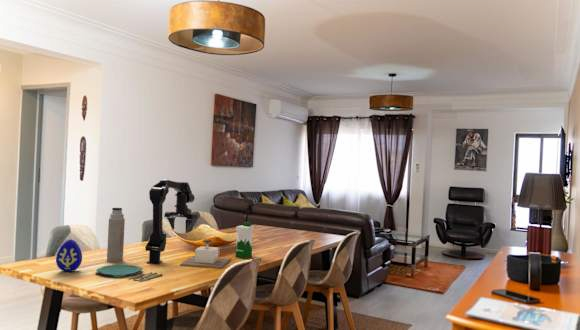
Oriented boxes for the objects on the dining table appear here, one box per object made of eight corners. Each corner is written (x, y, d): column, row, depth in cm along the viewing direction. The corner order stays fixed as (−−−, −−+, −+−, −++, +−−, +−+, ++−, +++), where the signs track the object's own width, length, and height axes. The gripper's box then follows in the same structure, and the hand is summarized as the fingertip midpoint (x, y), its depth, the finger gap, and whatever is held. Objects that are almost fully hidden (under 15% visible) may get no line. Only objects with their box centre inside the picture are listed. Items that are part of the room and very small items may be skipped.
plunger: (209, 254, 251) (210, 240, 251) (201, 254, 251) (202, 240, 251) (212, 253, 256) (212, 239, 256) (203, 252, 256) (204, 239, 256)
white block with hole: (213, 263, 248) (213, 250, 248) (194, 262, 249) (195, 249, 249) (217, 259, 258) (218, 247, 258) (200, 258, 259) (200, 246, 259)
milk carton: (253, 256, 276) (255, 222, 276) (245, 259, 268) (247, 224, 268) (241, 254, 280) (243, 221, 280) (232, 257, 272) (234, 222, 272)
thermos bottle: (125, 259, 251) (128, 207, 251) (117, 262, 243) (120, 209, 243) (112, 258, 253) (114, 206, 253) (103, 261, 245) (106, 208, 245)
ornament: (53, 273, 215) (55, 241, 215) (58, 269, 224) (59, 237, 224) (79, 273, 218) (81, 241, 218) (83, 268, 227) (84, 237, 227)
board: (221, 268, 241) (221, 266, 241) (180, 265, 244) (180, 263, 244) (230, 260, 263) (230, 258, 263) (192, 257, 266) (192, 255, 266)
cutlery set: (120, 266, 236) (120, 262, 236) (166, 276, 222) (166, 271, 222) (87, 274, 218) (87, 269, 218) (135, 285, 205) (135, 280, 205)
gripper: (202, 203, 276) (201, 230, 276) (175, 201, 282) (173, 227, 282) (192, 205, 266) (191, 232, 266) (164, 202, 272) (163, 229, 272)
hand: (179, 230), depth 272 cm, fingers open, 9 cm apart
